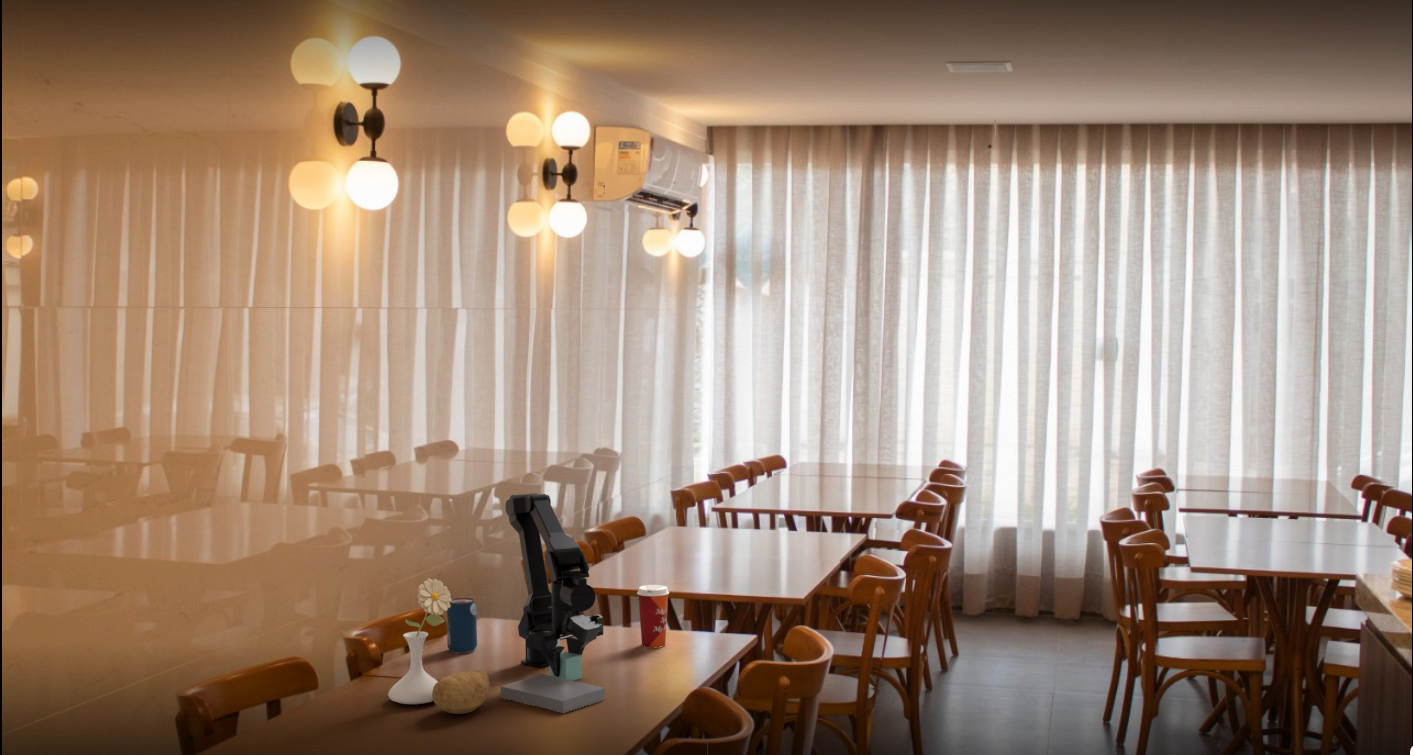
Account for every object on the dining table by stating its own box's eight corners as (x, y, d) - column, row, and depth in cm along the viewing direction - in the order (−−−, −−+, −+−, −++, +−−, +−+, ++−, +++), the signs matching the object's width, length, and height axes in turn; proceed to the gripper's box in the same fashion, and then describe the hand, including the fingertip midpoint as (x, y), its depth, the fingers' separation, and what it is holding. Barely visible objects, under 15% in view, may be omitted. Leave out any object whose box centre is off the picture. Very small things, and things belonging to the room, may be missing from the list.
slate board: (500, 698, 272) (500, 686, 272) (542, 685, 281) (542, 673, 281) (563, 713, 261) (563, 701, 261) (604, 699, 270) (604, 687, 270)
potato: (504, 705, 267) (503, 666, 266) (461, 724, 254) (460, 683, 254) (464, 699, 271) (464, 661, 271) (421, 718, 259) (420, 677, 258)
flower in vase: (396, 712, 263) (394, 587, 262) (382, 697, 273) (380, 577, 272) (459, 703, 269) (458, 581, 268) (444, 689, 279) (442, 572, 278)
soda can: (483, 649, 313) (482, 599, 313) (463, 655, 307) (462, 604, 307) (461, 645, 317) (460, 596, 316) (441, 651, 311) (440, 601, 311)
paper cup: (665, 650, 311) (665, 591, 311) (634, 648, 313) (633, 590, 312) (673, 642, 319) (672, 584, 318) (642, 640, 321) (641, 583, 320)
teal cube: (549, 679, 286) (549, 656, 286) (565, 674, 290) (565, 651, 290) (565, 682, 283) (565, 659, 283) (582, 677, 287) (581, 655, 287)
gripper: (561, 615, 274) (561, 689, 274) (621, 599, 288) (622, 670, 289) (523, 608, 281) (524, 680, 281) (584, 593, 295) (585, 662, 296)
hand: (565, 673), depth 287 cm, fingers closed on teal cube, 5 cm apart
